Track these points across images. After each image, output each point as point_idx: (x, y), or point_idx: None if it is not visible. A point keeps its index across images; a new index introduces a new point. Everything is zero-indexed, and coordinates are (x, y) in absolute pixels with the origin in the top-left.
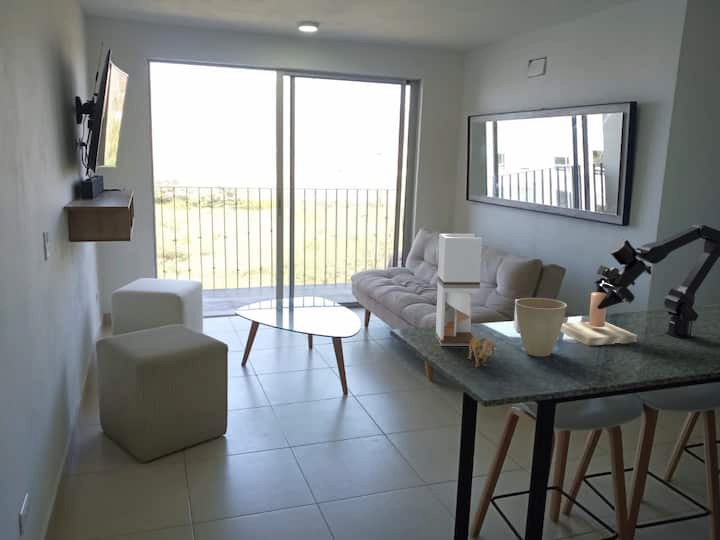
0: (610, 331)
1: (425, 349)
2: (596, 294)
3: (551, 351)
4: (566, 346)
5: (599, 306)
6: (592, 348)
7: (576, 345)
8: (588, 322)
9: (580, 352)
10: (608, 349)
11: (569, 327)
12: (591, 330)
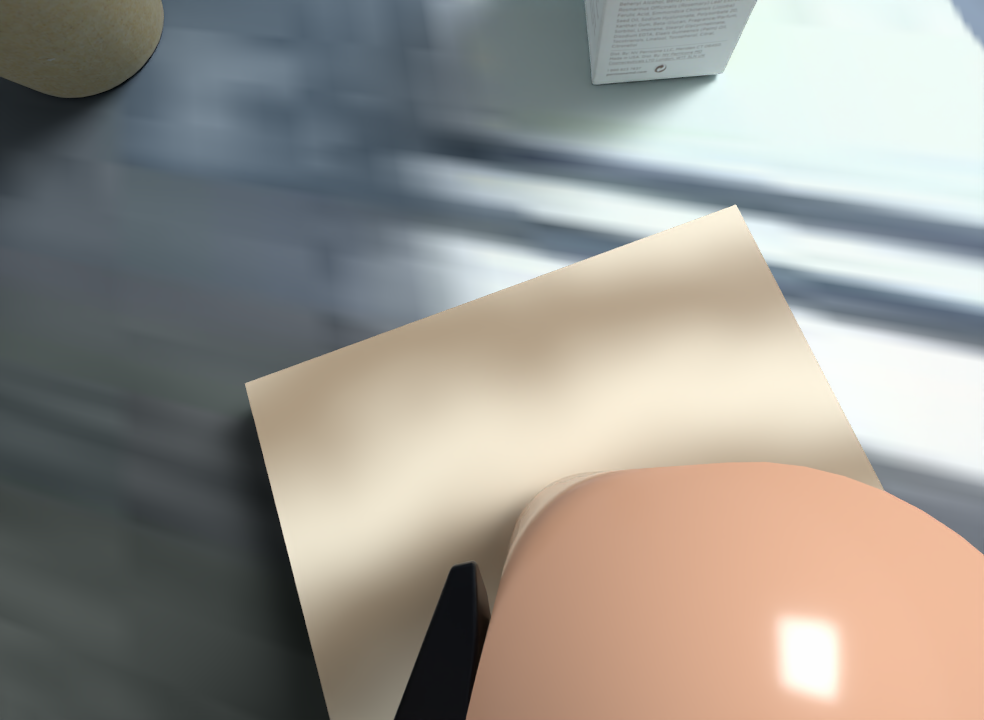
0: None
1: None
2: (597, 613)
3: (10, 80)
4: (245, 230)
5: (440, 603)
6: (207, 417)
7: (276, 308)
8: None
9: (107, 302)
10: (186, 547)
11: (595, 285)
12: (521, 484)
